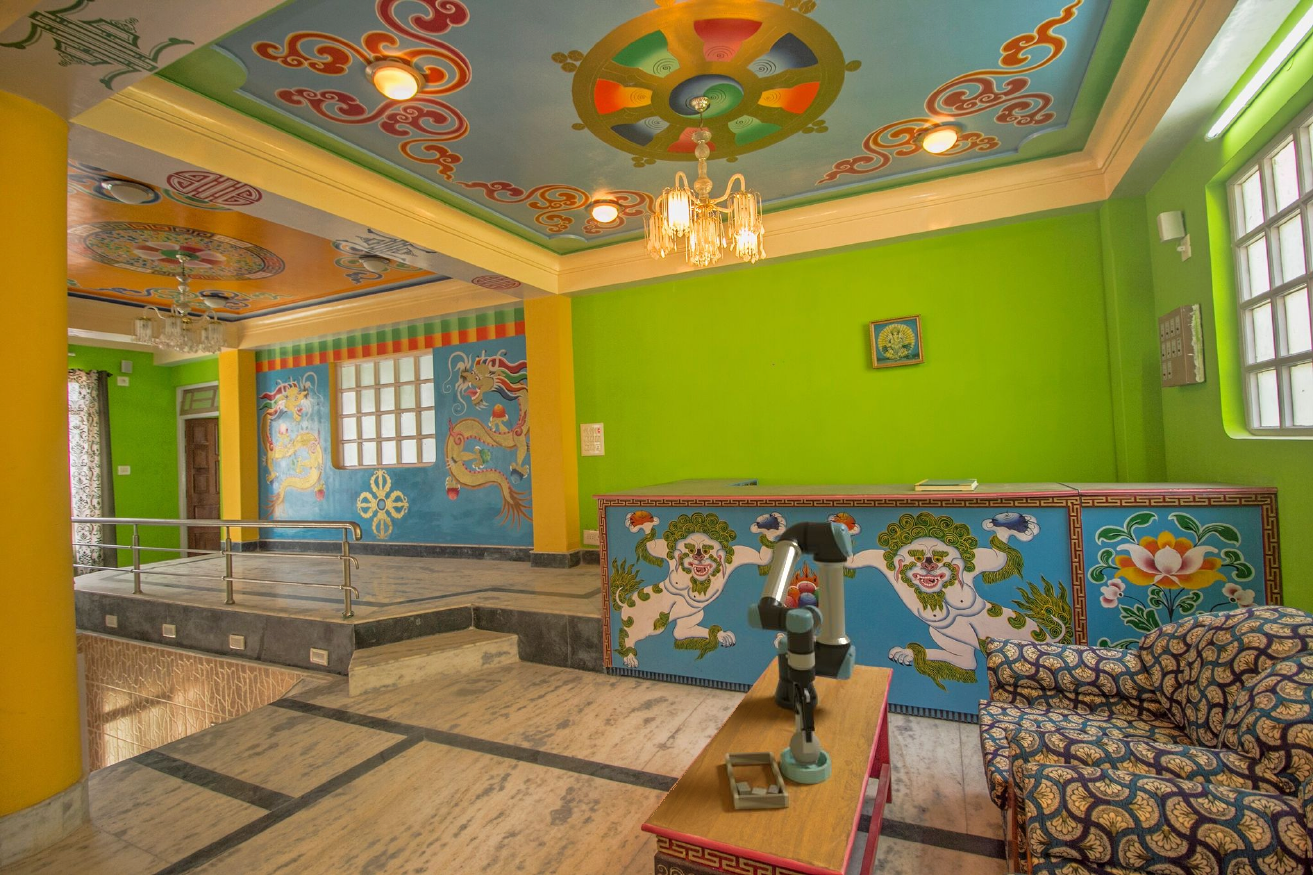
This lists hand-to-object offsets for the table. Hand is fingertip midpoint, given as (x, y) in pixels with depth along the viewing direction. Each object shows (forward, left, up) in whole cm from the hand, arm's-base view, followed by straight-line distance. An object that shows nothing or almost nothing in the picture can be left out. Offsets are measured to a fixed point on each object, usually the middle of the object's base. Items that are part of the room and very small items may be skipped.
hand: (804, 744), depth 173 cm
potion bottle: (0, 0, -4) cm, 4 cm away
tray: (+6, -15, -7) cm, 18 cm away
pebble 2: (+12, -11, -8) cm, 18 cm away
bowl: (0, 0, -7) cm, 7 cm away
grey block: (+11, -19, -8) cm, 23 cm away
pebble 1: (+13, -15, -8) cm, 22 cm away
